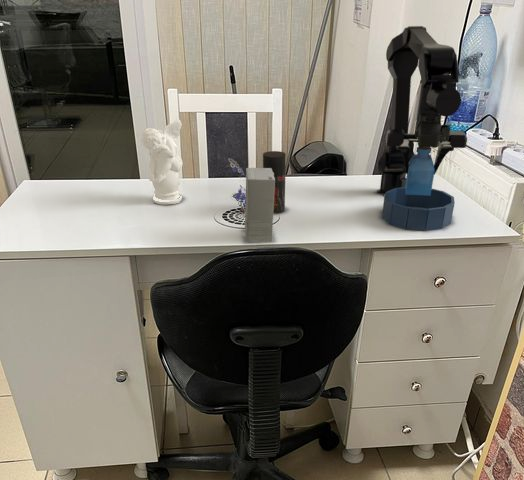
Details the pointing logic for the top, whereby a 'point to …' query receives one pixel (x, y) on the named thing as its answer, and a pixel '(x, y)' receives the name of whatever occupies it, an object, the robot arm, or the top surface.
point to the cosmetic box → (259, 204)
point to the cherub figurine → (164, 161)
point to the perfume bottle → (420, 173)
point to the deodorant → (277, 177)
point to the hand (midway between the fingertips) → (420, 173)
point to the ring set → (239, 189)
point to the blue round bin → (418, 209)
